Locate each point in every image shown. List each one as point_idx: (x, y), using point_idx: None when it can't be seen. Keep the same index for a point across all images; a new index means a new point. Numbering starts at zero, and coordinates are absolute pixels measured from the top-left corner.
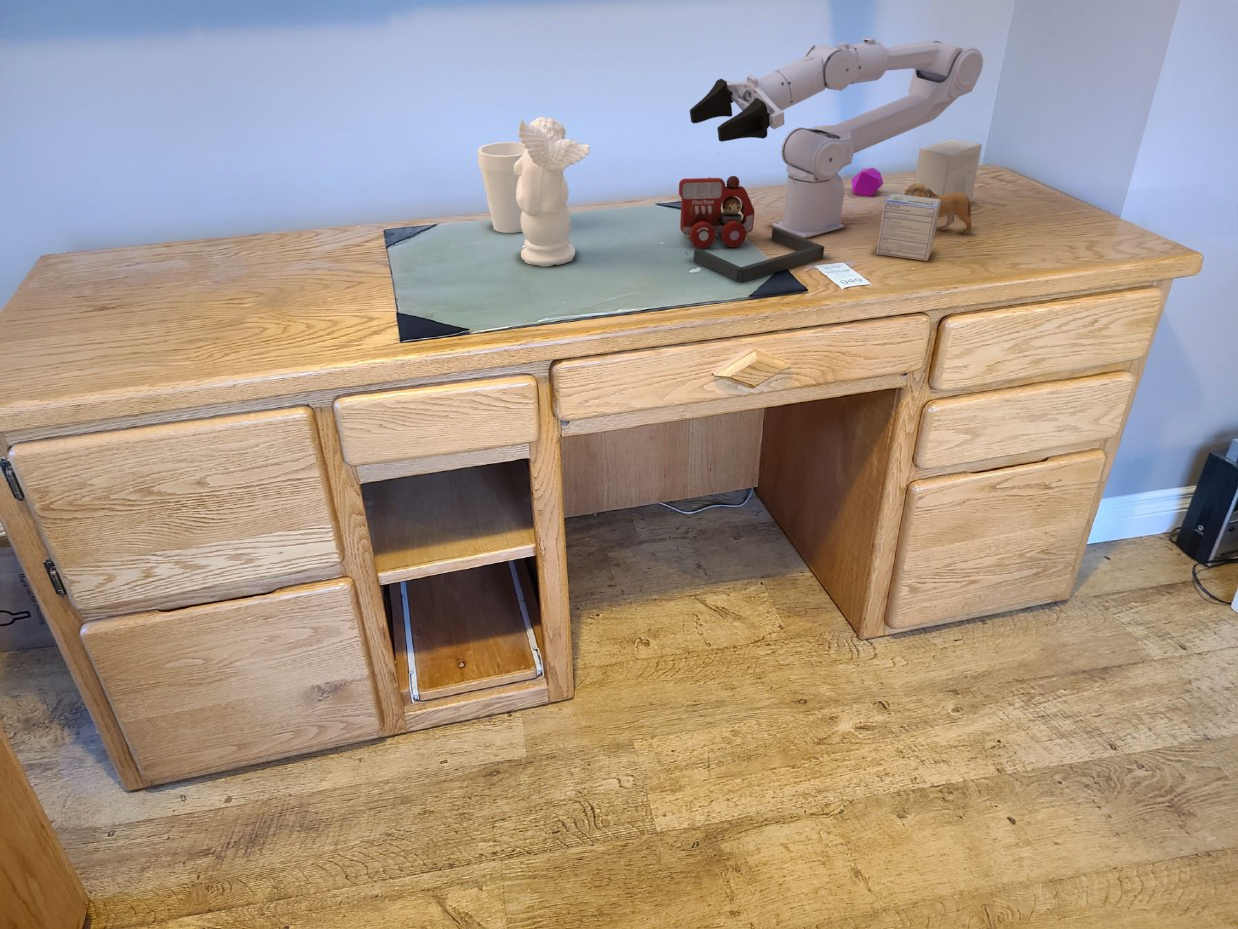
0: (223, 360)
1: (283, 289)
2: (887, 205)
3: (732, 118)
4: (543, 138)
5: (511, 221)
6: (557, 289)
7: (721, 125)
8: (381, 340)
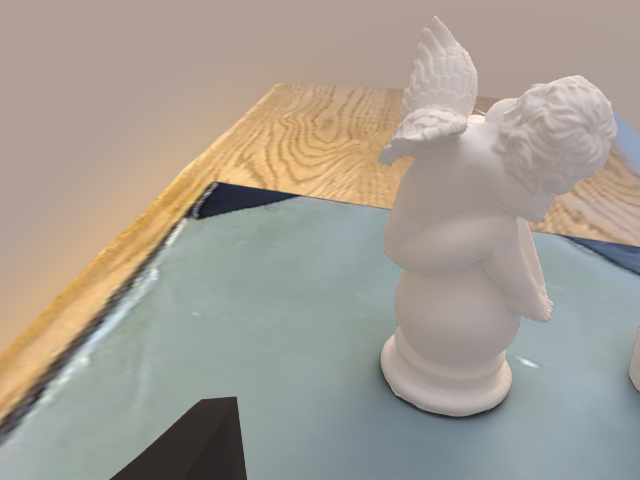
0: (274, 124)
1: None
2: None
3: (184, 461)
4: (429, 81)
5: (634, 350)
6: (258, 326)
7: (216, 407)
8: (233, 175)
